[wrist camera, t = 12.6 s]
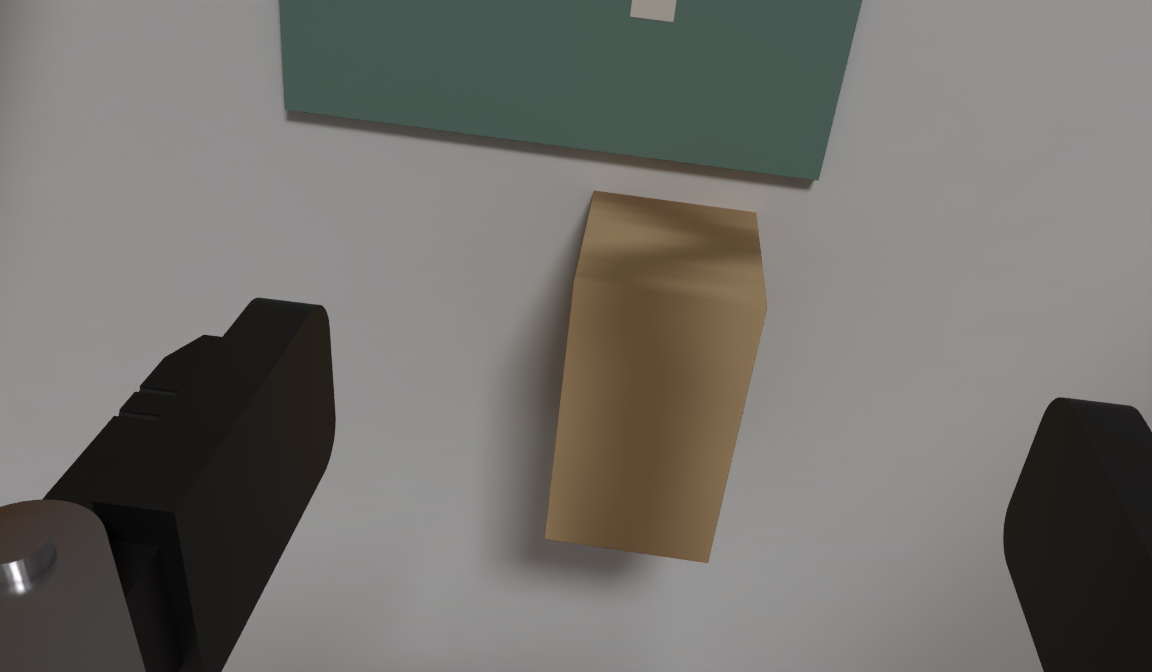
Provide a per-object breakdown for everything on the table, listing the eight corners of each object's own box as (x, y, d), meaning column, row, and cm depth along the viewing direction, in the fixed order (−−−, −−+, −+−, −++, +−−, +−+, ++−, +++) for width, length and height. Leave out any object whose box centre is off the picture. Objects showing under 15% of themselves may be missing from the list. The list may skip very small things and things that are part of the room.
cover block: (756, 211, 31) (767, 306, 26) (706, 443, 36) (707, 563, 31) (594, 189, 31) (574, 279, 26) (566, 423, 36) (544, 538, 31)
